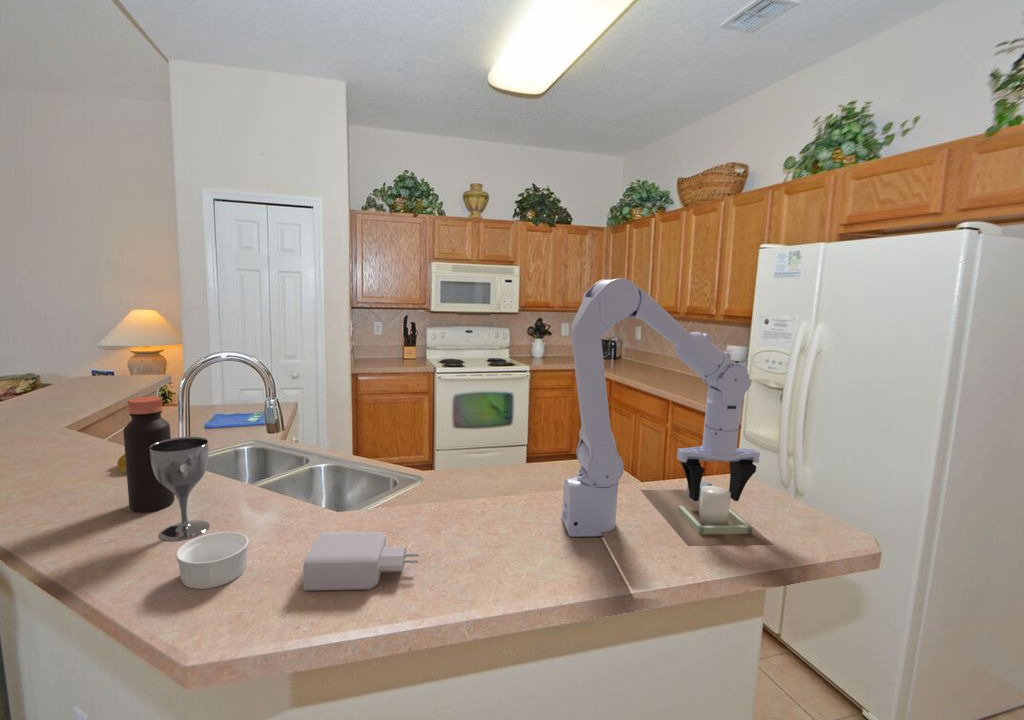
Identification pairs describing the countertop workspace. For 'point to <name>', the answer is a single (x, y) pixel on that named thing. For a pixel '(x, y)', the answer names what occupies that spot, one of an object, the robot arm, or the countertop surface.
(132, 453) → the bottle
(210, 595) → the countertop surface
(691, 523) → the cradle
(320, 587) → the charger
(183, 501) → the wine glass
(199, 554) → the ramekin
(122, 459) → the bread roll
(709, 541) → the board
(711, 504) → the white blue t-bar grip
